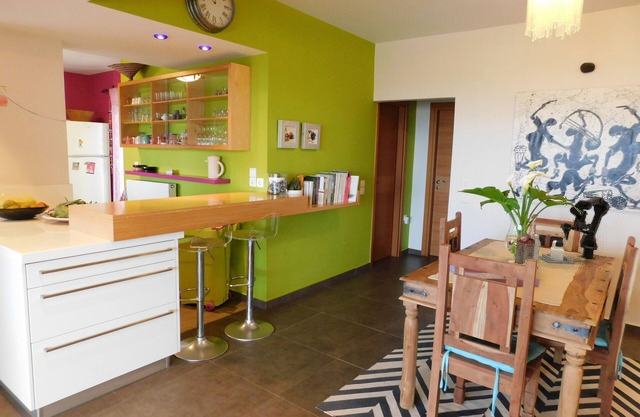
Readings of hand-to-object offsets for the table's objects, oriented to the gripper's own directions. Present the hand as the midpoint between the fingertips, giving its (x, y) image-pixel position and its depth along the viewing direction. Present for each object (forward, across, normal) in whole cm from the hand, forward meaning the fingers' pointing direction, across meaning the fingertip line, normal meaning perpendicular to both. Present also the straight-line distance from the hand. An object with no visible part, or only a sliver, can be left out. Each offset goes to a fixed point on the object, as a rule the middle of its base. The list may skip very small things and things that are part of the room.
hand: (574, 242), depth 268 cm
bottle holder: (+13, -5, +6) cm, 16 cm away
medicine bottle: (+13, -5, +6) cm, 15 cm away
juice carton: (+30, -34, -23) cm, 50 cm away
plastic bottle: (+25, -25, -12) cm, 37 cm away
